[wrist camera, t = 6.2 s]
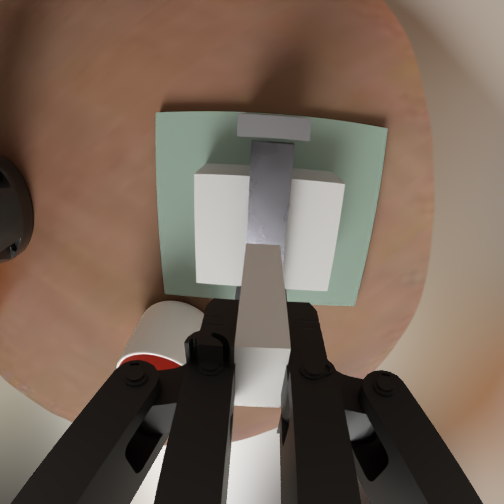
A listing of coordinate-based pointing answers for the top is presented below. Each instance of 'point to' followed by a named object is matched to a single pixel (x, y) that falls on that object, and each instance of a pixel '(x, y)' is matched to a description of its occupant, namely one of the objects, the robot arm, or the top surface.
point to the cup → (163, 335)
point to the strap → (269, 192)
